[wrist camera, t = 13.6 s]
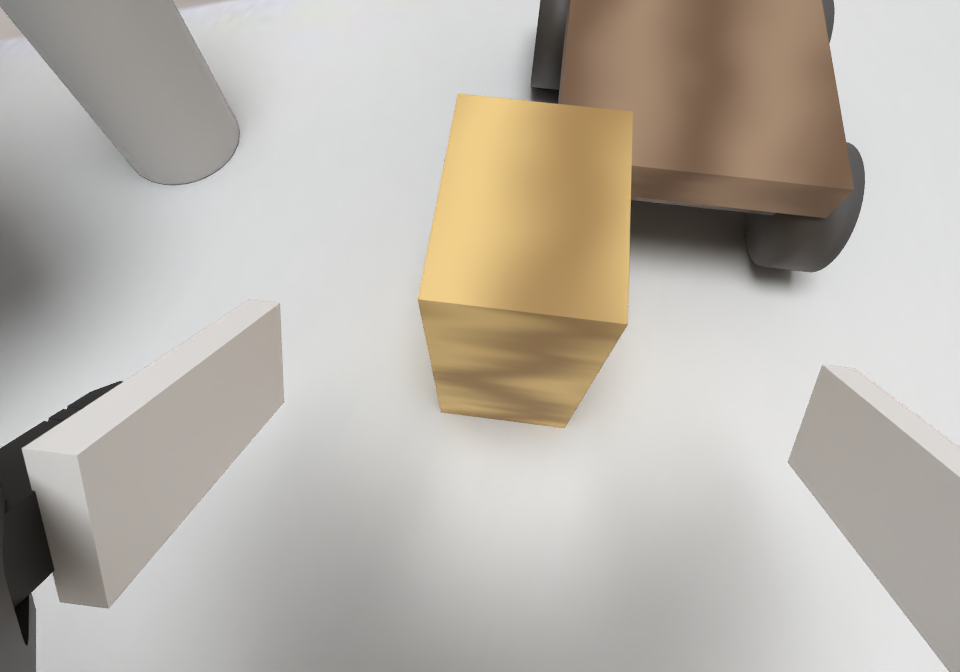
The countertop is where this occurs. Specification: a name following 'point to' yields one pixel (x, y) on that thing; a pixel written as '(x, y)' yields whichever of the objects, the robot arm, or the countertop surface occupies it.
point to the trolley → (719, 110)
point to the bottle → (136, 81)
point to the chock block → (527, 257)
